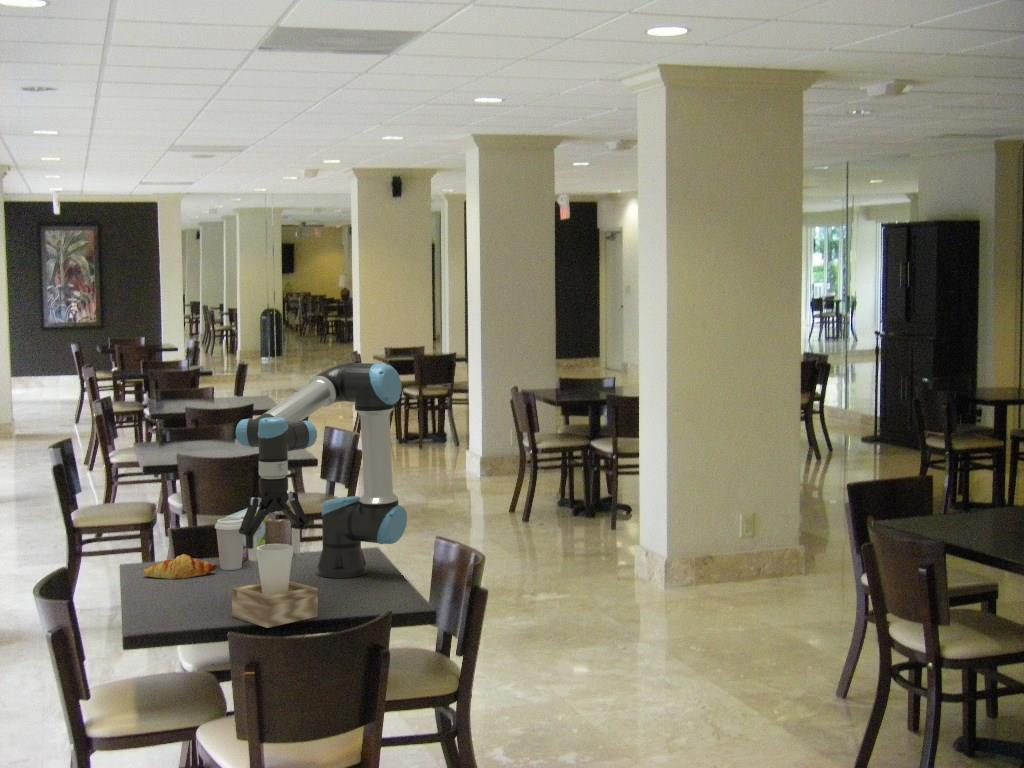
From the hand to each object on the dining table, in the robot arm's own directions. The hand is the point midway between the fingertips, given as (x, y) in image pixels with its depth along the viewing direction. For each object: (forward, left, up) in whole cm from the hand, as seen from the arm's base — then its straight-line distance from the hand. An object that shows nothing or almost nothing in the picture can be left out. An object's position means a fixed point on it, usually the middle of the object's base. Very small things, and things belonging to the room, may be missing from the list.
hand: (274, 556), depth 325 cm
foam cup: (0, 0, -11) cm, 11 cm away
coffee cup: (-24, -58, -16) cm, 65 cm away
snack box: (-36, -68, -16) cm, 79 cm away
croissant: (-7, -60, -17) cm, 62 cm away
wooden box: (0, 0, -16) cm, 16 cm away
